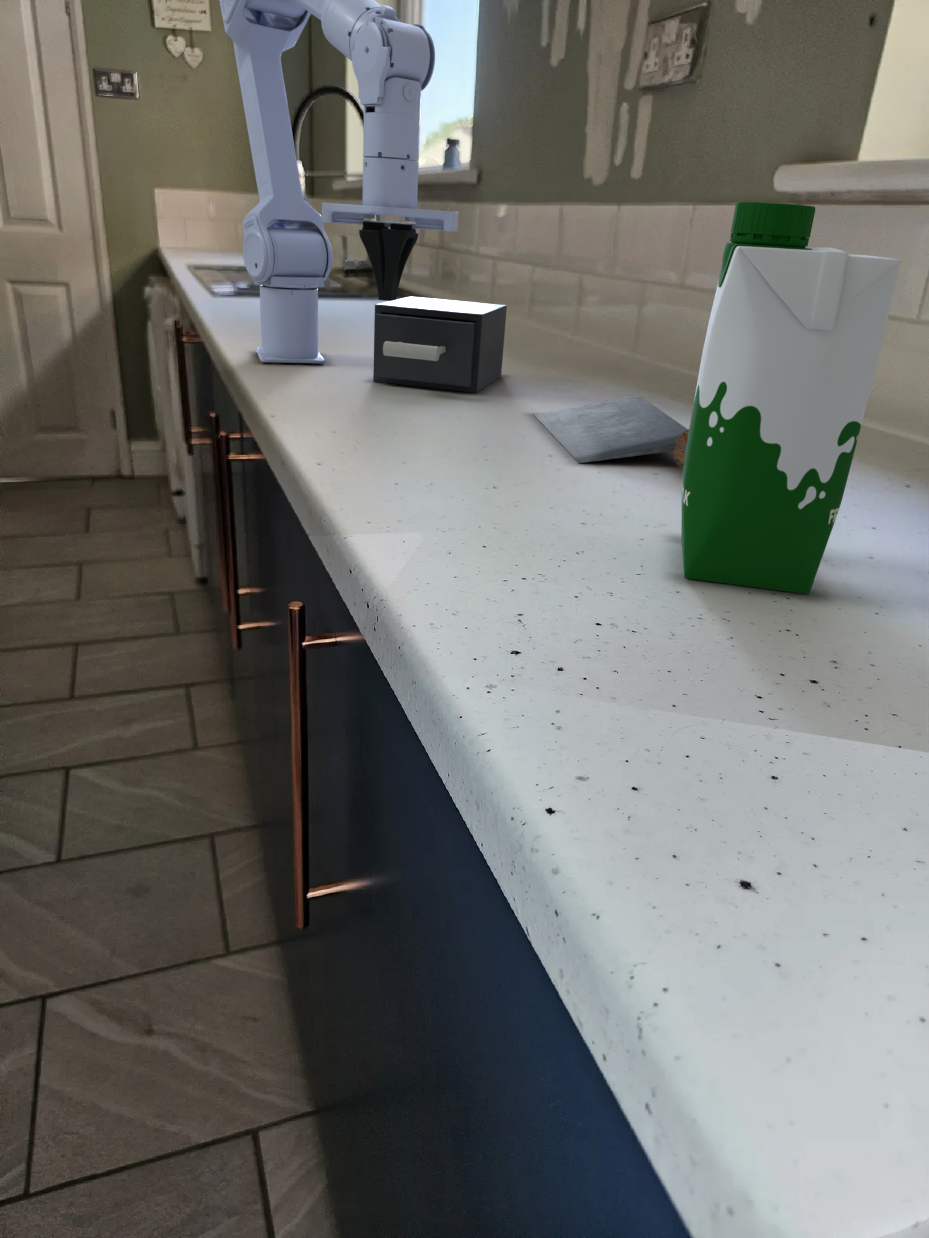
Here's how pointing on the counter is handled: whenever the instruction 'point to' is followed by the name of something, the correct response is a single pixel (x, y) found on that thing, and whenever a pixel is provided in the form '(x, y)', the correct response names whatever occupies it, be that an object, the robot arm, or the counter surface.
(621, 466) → the counter surface
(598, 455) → the meat cleaver
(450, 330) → the dark drawer box
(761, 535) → the milk carton
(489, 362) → the small drawer unit
